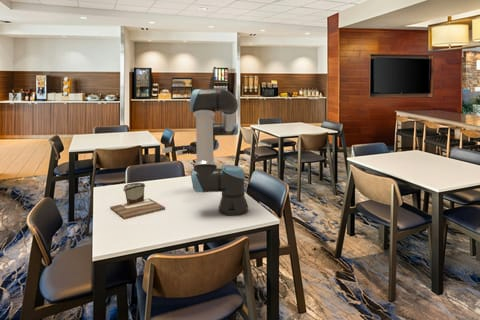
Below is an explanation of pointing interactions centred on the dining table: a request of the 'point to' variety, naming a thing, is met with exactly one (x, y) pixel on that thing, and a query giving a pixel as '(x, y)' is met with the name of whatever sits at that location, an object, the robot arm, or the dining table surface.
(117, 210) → the board
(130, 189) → the food container
